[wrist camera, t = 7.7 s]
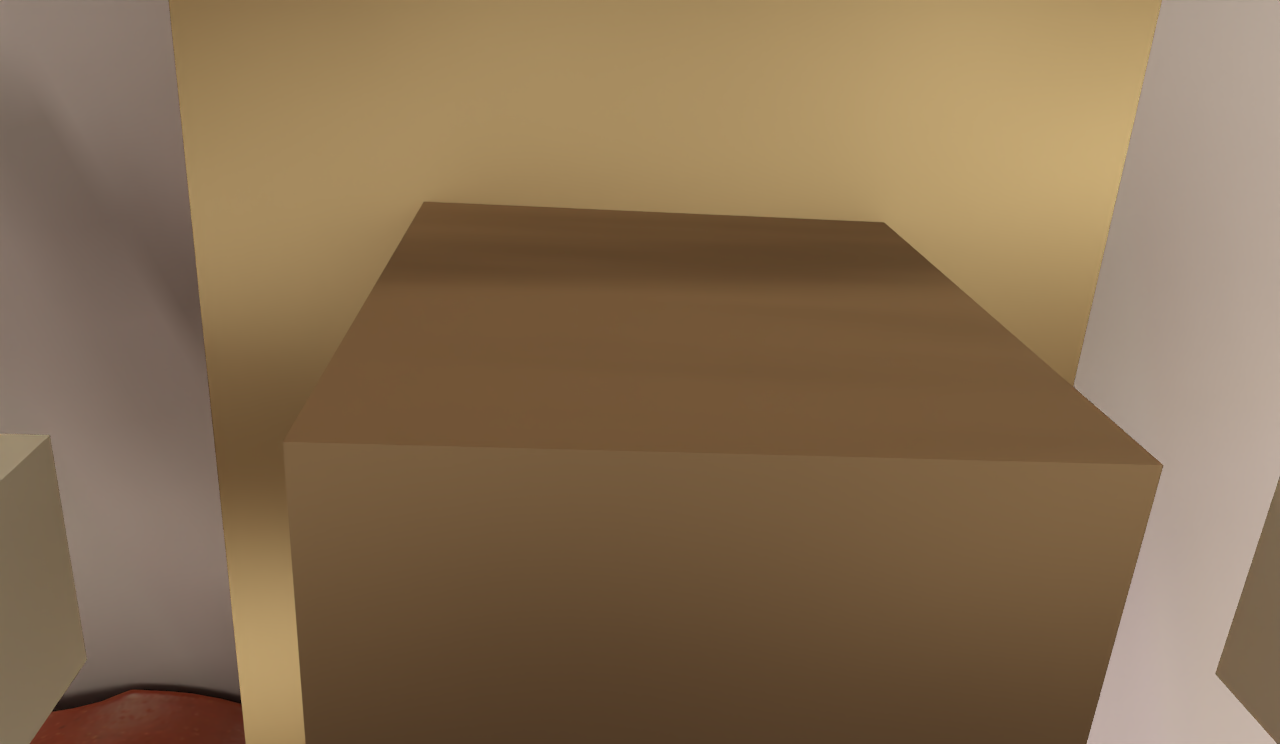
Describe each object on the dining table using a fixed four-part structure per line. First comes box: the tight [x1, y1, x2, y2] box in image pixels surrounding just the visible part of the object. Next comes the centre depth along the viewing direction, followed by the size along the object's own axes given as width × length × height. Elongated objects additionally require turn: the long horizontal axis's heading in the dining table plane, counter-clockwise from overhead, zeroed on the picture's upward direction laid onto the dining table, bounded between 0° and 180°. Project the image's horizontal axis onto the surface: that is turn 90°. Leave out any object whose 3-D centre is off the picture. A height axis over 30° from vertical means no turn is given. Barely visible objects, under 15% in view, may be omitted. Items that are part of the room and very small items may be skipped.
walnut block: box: [283, 202, 1163, 744], centre depth 11 cm, size 6×6×7 cm
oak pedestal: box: [169, 0, 1162, 744], centre depth 17 cm, size 12×12×6 cm
